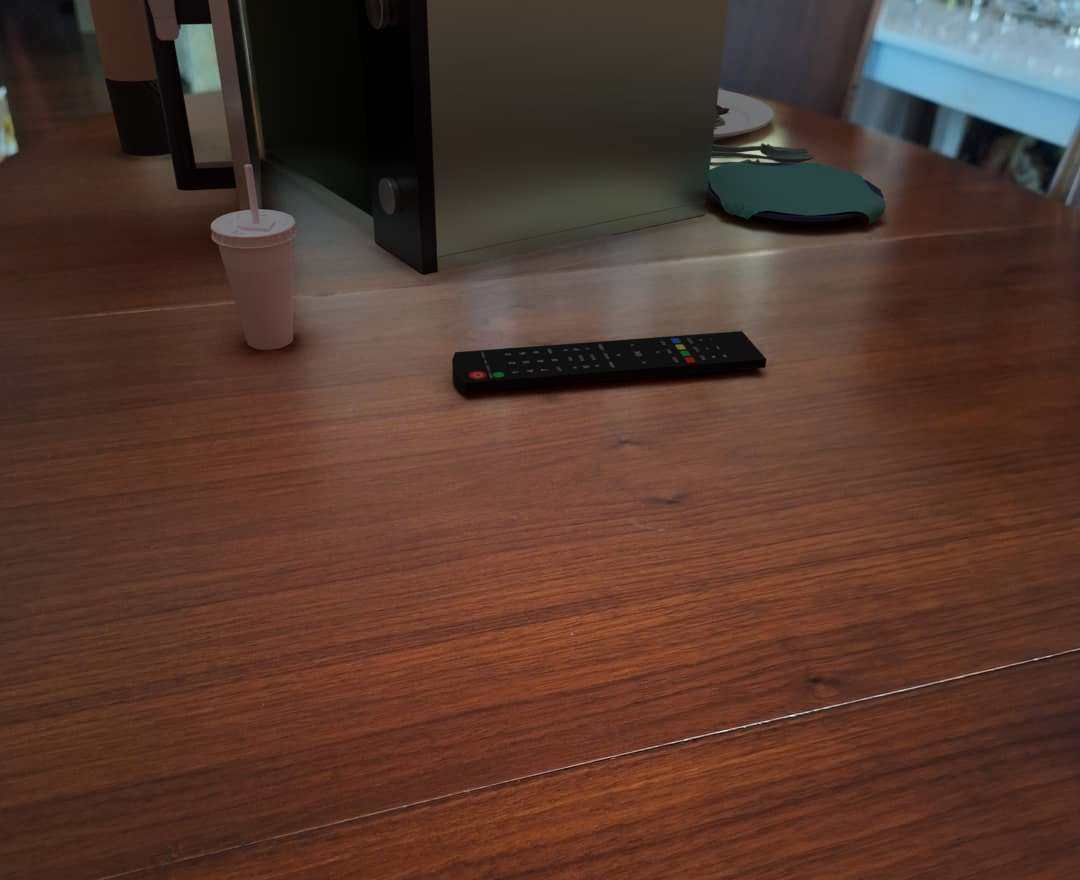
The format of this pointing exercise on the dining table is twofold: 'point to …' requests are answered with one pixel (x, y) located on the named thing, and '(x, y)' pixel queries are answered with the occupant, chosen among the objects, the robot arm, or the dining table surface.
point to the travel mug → (130, 76)
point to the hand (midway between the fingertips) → (170, 35)
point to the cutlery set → (789, 187)
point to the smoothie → (259, 269)
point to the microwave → (490, 116)
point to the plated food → (739, 115)
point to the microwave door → (221, 8)
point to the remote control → (603, 361)
